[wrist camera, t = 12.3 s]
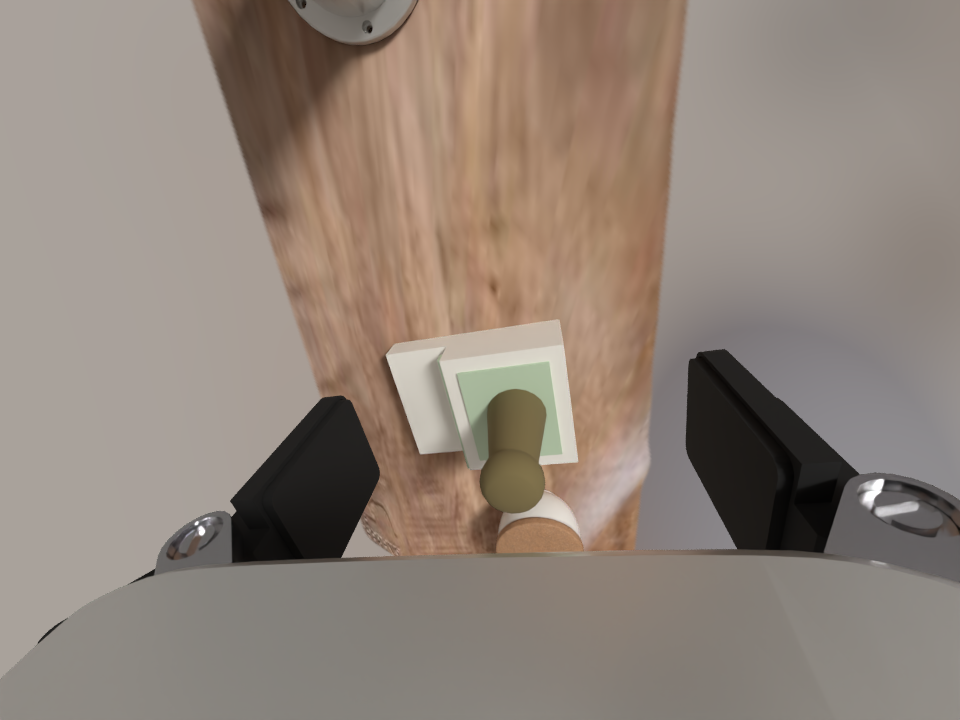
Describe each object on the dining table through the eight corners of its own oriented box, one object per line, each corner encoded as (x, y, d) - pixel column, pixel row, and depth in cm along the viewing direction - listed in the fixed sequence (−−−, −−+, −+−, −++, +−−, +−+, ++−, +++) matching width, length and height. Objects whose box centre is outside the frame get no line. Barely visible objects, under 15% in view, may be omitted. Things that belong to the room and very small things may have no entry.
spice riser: (394, 343, 44) (372, 371, 38) (559, 319, 41) (563, 346, 35) (426, 439, 50) (411, 476, 44) (572, 425, 47) (578, 464, 41)
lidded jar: (523, 538, 57) (521, 602, 49) (485, 490, 53) (477, 550, 45) (590, 518, 53) (601, 583, 45) (555, 465, 50) (559, 525, 41)
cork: (510, 446, 41) (503, 535, 31) (475, 407, 39) (455, 488, 29) (558, 421, 38) (567, 507, 29) (523, 378, 37) (519, 455, 27)
